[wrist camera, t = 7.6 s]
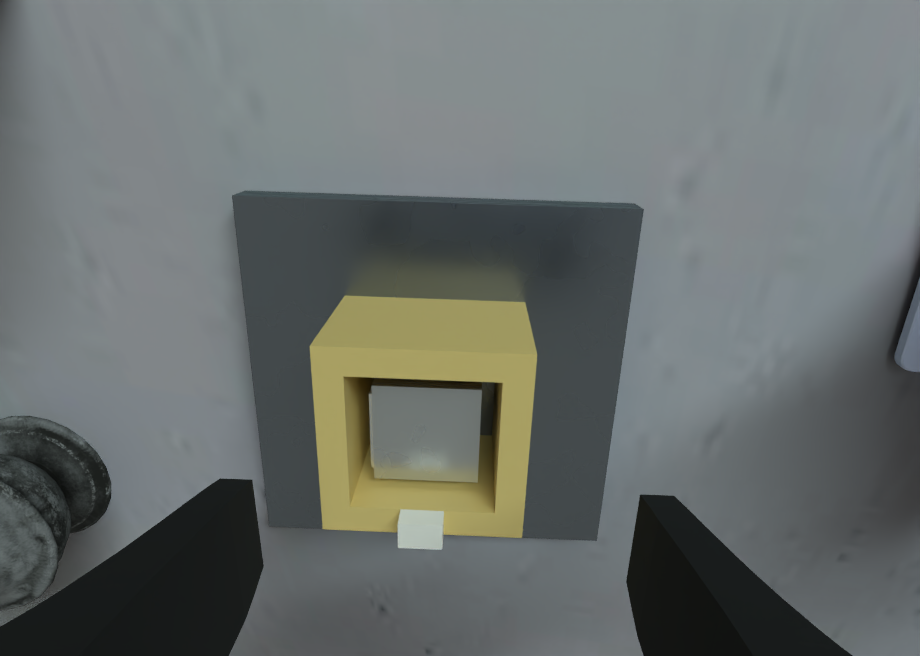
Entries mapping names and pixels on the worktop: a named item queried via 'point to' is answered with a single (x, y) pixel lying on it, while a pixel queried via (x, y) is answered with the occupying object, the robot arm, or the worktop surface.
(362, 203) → the grey square base plate
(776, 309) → the worktop surface
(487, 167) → the worktop surface
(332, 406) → the yellow square planter
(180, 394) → the worktop surface
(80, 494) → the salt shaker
